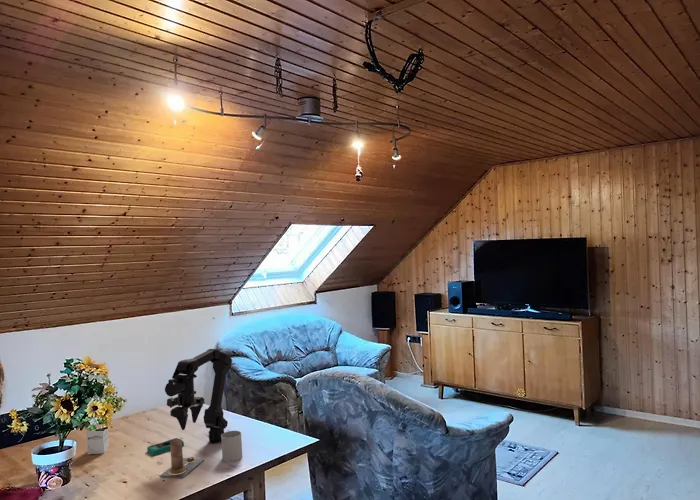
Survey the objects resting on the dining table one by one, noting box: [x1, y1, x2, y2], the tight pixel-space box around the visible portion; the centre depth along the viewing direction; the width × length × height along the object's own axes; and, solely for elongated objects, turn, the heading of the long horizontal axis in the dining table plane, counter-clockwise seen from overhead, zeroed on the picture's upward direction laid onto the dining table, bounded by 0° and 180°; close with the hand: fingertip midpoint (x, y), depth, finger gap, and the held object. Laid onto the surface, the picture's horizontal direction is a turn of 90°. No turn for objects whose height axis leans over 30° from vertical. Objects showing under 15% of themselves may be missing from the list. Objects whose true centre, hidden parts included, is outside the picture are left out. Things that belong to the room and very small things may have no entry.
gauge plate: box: [159, 456, 205, 479], centre depth 216 cm, size 17×10×2 cm, turn 167°
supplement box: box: [85, 428, 110, 456], centre depth 240 cm, size 7×7×13 cm
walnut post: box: [169, 438, 185, 474], centre depth 213 cm, size 6×6×12 cm
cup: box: [220, 430, 243, 463], centre depth 225 cm, size 8×8×10 cm
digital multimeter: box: [146, 437, 185, 456], centre depth 239 cm, size 7×15×3 cm, turn 133°
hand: (188, 426), depth 229 cm, fingers open, 9 cm apart
